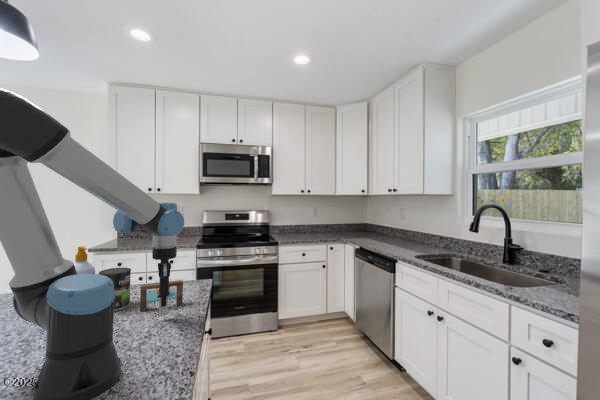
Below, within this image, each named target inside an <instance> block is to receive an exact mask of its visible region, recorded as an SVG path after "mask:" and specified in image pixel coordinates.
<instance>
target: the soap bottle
mask: <svg viewBox="0 0 600 400" xmlns="http://www.w3.org/2000/svg"><path fill="white" fill-rule="evenodd" d="M86 250H87V247H86V245H85V246H84V245H81V246H79V245H78V246H77V252H76V254H75V257H74V258H75V259H74V262H73V263H74V266H75V268H76V271H77V274H92V275H94V274H96V269H95V266H94V265H93V263H91V262H90V261H88V253H87V252H86Z"/></svg>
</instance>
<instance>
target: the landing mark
mask: <svg viewBox="0 0 600 400" xmlns="http://www.w3.org/2000/svg"><path fill="white" fill-rule="evenodd" d="M176 293H177V291H176V290H175V288H174V289H170V294H169V295H168V300H171V299H176ZM157 295H158V294H157V292H156V291H153V292H151V291H150V292H147V301H146V303H151V302H157V301H158V302H159V298H157Z"/></svg>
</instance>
